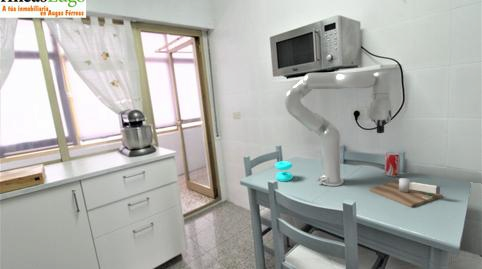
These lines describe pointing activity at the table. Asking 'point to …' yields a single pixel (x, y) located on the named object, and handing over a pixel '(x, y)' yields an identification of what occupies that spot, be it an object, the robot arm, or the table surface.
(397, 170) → the soda can
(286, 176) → the donuts
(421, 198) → the brown wooden cutting board
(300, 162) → the table surface
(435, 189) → the white elongated piece
